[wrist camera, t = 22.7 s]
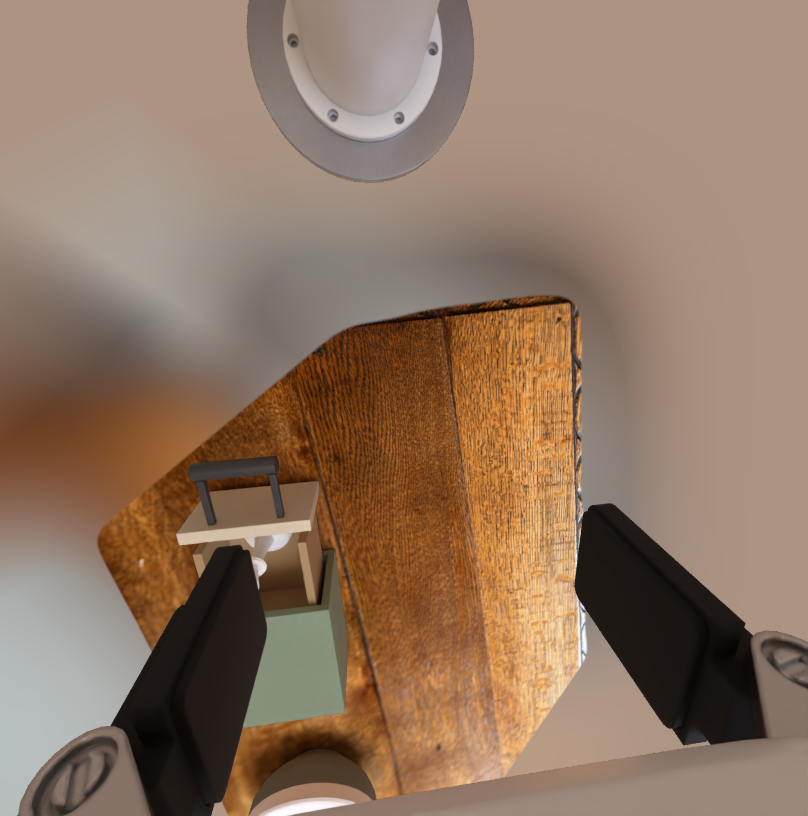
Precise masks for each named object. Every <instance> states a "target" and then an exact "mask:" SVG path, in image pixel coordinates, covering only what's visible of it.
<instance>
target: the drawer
mask: <svg viewBox="0 0 808 816" xmlns="http://www.w3.org/2000/svg"><path fill="white" fill-rule="evenodd" d="M278 471H279V461H278V458H277V456H270V457H259V458H248V459H238V460H227V461H216V462H206V463H195V464H191V465H190V467H189V478H190V480H191V481H193V482H194V481H196V484H197V488H198V491H199V495H200V499H201V501H200V502H199V503H198V505H197V506H196V508H195V509H194V510H193V512H192V513H191V514H190V516H189V517H188V519H187V520H186V521H185V523H184V524H183V525H182V527H181V528H180V530H179V531H178V532H177V534H176V535H177V539H178V542H179V545H186V544H195V543H200V544H199V545H198V547H197V549H196V550H195V552H194V554H193V558H194V562H195V565H196V569H197V572H198V575H199V578H200V576H201V574H202V573H203V571H204V569H205V567H206V565H207V563H208V562H209V560H210V558H211V556H212V554H213V552H214V551H215V549H216V548H218V547H223V546H232V545H241V546H242V548H243V550H249V551H250V555H251V557H252V555H253V550H254V548H253V547H252V546H250V545H249V544H248V543H247V541H246V540H245V538H250V537H259V536H268V535H277V534H286V533H292V535H291V537H290V539H289V541H288V543H287V544H286V545H285V546H284V547H282V548H280V549H278V550H275V551H269V552H267V553H266V555H265V557H264V559H263V560H264V561H265V563H266V565H267V568H266V571H265V572H264V573H263V574H262V575H261V576H259V593H260V597H261V602H262V606H263V610H264V612H266V611H274V610H282V609H290V608H298V607H306V606H314V605H321V603H322V595H323V587H324V579H325V569H324V563H323V556H322V550H321V543H320V537H319V531H318V524H317V518H316V511H315V510H316V505H317V501H318V496H319V491H320V490H319V483H318V481H313V482H303V483H293V484H283V485H279V481H278V476H277V473H278ZM266 474H269V480H270V486H263V487H253V488H243V489H233V490H223V491H213V492H209V489H208V486H207V482H206V480H215V479H225V478H235V477H245V476H256V475H266Z"/></svg>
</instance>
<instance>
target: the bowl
mask: <svg viewBox="0 0 808 816" xmlns="http://www.w3.org/2000/svg"><path fill="white" fill-rule="evenodd" d="M372 800H376V794H375V791H374V789H373V787H372V784H371V782H370V780H369V778H368V776H367V774H366V773H365V772H364V771H363V770H362V769H361V768H360V767H359V766H358V765H356V764H355V763H354V762H353V761H351V760H350V759H348V758H346V757H344V756H342V755H341V754H340V753H338V752H336V751H334V750H329V749H314V750H309V751H306V752H304V753H302V754H300V755H298V756H297V757H296V758H295V759H292V760H290V761H288V762H287V763H285V764H284V765H282V766H281V767H280V768H279V769H277V770H276V771H275V772H274V773H273V774H271V775H270V776H269V777H268V778H267V779H266V781H265V782H264V784H263V785H262V787H261V788H260V790H259V792H258V793H257V795H256V796H255V798H254V799H253V803H252V806H251V809H250V812H249V816H288V815H293V814H299V813H304V812H310V811H315V810H321V809H327V808H332V807H338V806H344V805H350V804H355V803H361V802H367V801H372Z"/></svg>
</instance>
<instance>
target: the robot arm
mask: <svg viewBox="0 0 808 816" xmlns="http://www.w3.org/2000/svg"><path fill="white" fill-rule="evenodd" d="M439 2H440V0H286V4H285V9H284V14H283V44H284V52H285V57H286V61H287V64H288V68H289V71H290V75H291V77H292V80H293V82H294V85H295V87H296V89H297V91H298V93H299V95H300V96H301V98H302V100H303V102H304V103H305V105H306V106H307V107H308V109H309V110H310V111H311V112H312V114H313V115H314V116H315V117H316V118H317V119H318V120H319V121H320V122H321V123H323V124H324V125H325V126H326V127H327V128H329V129H330V130H332V131H334V132H335V133H337V134H339V135H341V136H343V137H346V138H349V139H352V140H356V141H363V142H373V141H382V140H385V139H388V138H391V137H394V136H396V135H398V134H399V133H401V132H403V131H404V130H406V129H407V128H408V127H409V126H410V125H412V124H413V123H414V122H415V121H416V120H417V119H418V117H419V116H420V115H421V113H422V112H423V111H424V109H425V108H426V106H427V104H428V102H429V100H430V98H431V96H432V94H433V91H434V89H435V86H436V83H437V80H438V76H439V71H440V66H441V59H442V36H441V26H440V21H439V17H438V13H437V9H438V5H439ZM293 44H297V45H298V46H297V47H295V48H293V47H292V45H293ZM430 51H431V52H433V53H434V55H430V54H429V53H428V52H430ZM333 116H334V117H336V118H337V119H336V121H335V122H332V121H331V117H333ZM396 119H400V120H401V124H397V123H396V121H395V120H396ZM575 591H576V594H577V597H578V599H579V600H580V602H581V603H582V605H583V606H584V608H585V609H586V611H587V612H588V613H589V615H590V617H591V618H592V619H593V621H594V622H595V624H596V625H597V627H598V628H599V630H600V631H601V633H602V634H603V636H604V637H605V639H606V640H607V642H608V643H609V645H610V646H611V648H612V649H613V651H614V652H615V654H616V655H617V657H618V658H619V659H620V661H621V663H622V664H623V666H624V667H625V668H626V670H627V672H628V673H629V675H630V676H631V677H632V679H633V680H634V682H635V683H636V685H637V686H638V688H639V689H640V691H641V692H642V694H643V695H644V697H645V698H646V700H647V701H648V703H649V704H650V706H651V707H652V709H653V710H654V711H655V713H656V715H657V716H658V717H659V719H660V720H661V722H662V723H663V724H664V725H665V726H666V727H667V728H669V729H671V728H672V729H673V731H674V732H675V734H676V735H677V736H678V738H679V739H680V741H681V742H682V744H683V745H689V744H695V743H701V742H706V741H707V740H708V742H709V743H710V745H706V746H700V747H692V748H684V749H677V750H671V751H665V752H659V753H653V754H646V755H640V756H634V757H628V758H622V759H615V760H609V761H603V762H597V763H591V764H585V765H578V766H572V767H566V768H561V769H554V770H548V771H542V772H537V773H530V774H524V775H518V776H513V777H506V778H500V779H494V780H489V781H483V782H477V783H471V784H465V785H459V786H453V787H447V788H441V789H436V790H430V791H424V792H418V793H412V794H407V795H401V796H395V797H389V798H384V799H378V800H372V801H367V802H361V803H355V804H350V805H344V806H338V807H332V808H327V809H321V810H315V811H310V812H304V813H299V814H293V815H288V816H808V642H806V641H804V640H802V639H799V638H797V637H794V636H792V635H789V634H785V633H781V632H777V631H762V632H758V633H756V634H755V635H754V636H753V635H752V634H751V633H750V632H749V631H747V630H746V629H745V628H744V626H745V622H743V621H742V620H741V619H740V618H739V617H738V616H737V615H736V614H735V613H734V612H732V611H731V610H730V609H729V608H728V607H727V606H726V605H725V604H724V603H722V602H721V601H720V600H719V599H718V598H717V597H716V596H715V595H713V594H712V593H711V592H710V591H709V590H708V589H707V588H706V587H705V586H704V585H702V584H701V583H700V582H699V581H698V580H697V579H696V578H695V577H694V576H692V575H691V574H690V573H689V572H688V571H687V570H686V569H685V568H684V567H683V566H681V565H680V564H679V563H678V562H677V561H676V560H675V559H674V558H673V557H672V556H670V555H669V554H668V553H667V552H666V551H665V550H664V549H663V548H662V547H660V546H659V545H658V544H657V543H656V542H655V541H653V539H651V538H650V537H649V536H648V535H647V534H646V533H645V532H644V531H643V530H642V529H640V528H639V527H638V526H637V525H636V524H635V523H634V522H633V521H632V520H630V519H629V518H628V517H627V516H626V515H625V514H624V513H623V512H622V511H621V510H619V509H618V508H617V507H616V506H615V505H613V504H600V505H592V506H590V507H589V508H588V511H586V512H584V514H583V519H582V527H581V536H580V544H579V552H578V560H577V568H576V576H575ZM266 638H267V623H266V619H265V614H264V610H263V606H262V602H261V597H260V593H259V589H258V584H257V580H256V576H255V572H254V567H253V563H252V559H251V555H250V551H249V550H243V548H242V546H241V545H232V546H223V547H218V548H216V549H215V551H214V552H213V554H212V556H211V558H210V560H209V562H208V563H207V565H206V567H205V569H204V571H203V573H202V574H201V576H200V578H199V580H198V582H197V584H196V586H195V587H194V589H193V591H192V593H191V595H190V597H189V598H188V600H187V602H186V604H185V605H181V606H180V607H179V608H177V610H176V611H175V613H174V614H173V616H172V618H171V619H170V621H169V623H168V625H167V626H166V628H165V630H164V632H163V633H162V635H161V637H160V639H159V641H158V642H157V644H156V646H155V648H154V649H153V651H152V653H151V655H150V657H149V658H148V660H147V662H146V664H145V665H144V667H143V669H142V671H141V673H140V674H139V676H138V678H137V680H136V681H135V683H134V685H133V687H132V689H131V690H130V692H129V694H128V696H127V697H126V700H125V701H124V703H123V705H122V706H121V708H120V710H119V712H118V714H117V715H116V717H115V719H114V721H113V723H112V724H111V726H106V727H100V728H97V729H94V730H91V731H88V732H86V733H84V734H82V735H81V736H79V737H77V738H75V739H74V740H72V741H70V742H69V743H68V744H67V745H65V746H64V747H63V748H62V749H60V750H59V751H58V752H56V753H55V754H54V755H53V756H52V757H51V759H49V760H48V762H47V763H46V764H44V766H43V767H42V768H41V769H40V770H39V772H38V773H37V774H36V776H35V777H34V779H33V780H32V781H31V783H30V784H29V785H28V787H27V789H26V792H25V794H24V796H23V798H22V800H21V802H20V807H19V813H18V815H17V816H211V814H212V811H213V807H214V803H219V802H221V801H222V799H223V797H224V795H225V792H226V788H227V785H228V781H229V777H230V773H231V770H232V766H233V762H234V758H235V755H236V751H237V747H238V743H239V740H240V736H241V732H242V728H243V725H244V721H245V717H246V713H247V710H248V706H249V702H250V698H251V695H252V691H253V687H254V683H255V680H256V676H257V672H258V668H259V665H260V661H261V657H262V653H263V650H264V646H265V642H266Z"/></svg>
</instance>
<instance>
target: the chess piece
mask: <svg viewBox="0 0 808 816" xmlns="http://www.w3.org/2000/svg"><path fill="white" fill-rule="evenodd" d="M291 535H292V533H286V534H277V535H268V536H259V537H250V538H245V540H246V541H247V543H248V544H249V545H250V546H252V547H253V548H254V550H253V555H252V557H251V559H252V563H253V567H254V572H255V576H256V580H257V584H258V589H259V576H261V575H262V574H263V573H264V572H265V571H266V568H267V565H266V563H265V561H264V560H263V559H264V557H265V555H266V553H267V552H269V551H275V550H278V549H280V548H282V547H284V546H285V545H286V544H287V543H288V541H289V539H290V537H291Z"/></svg>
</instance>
